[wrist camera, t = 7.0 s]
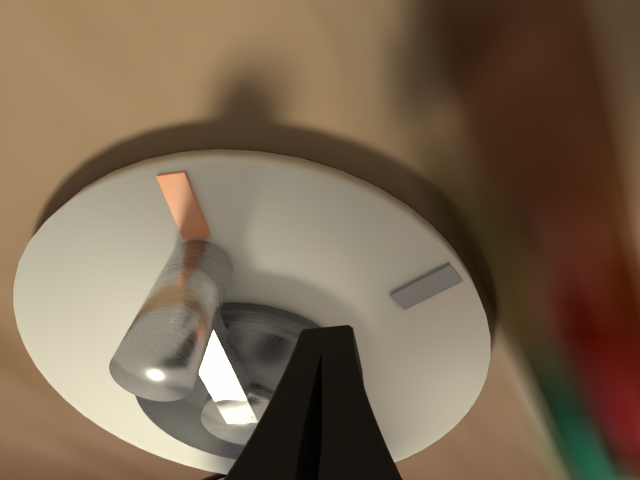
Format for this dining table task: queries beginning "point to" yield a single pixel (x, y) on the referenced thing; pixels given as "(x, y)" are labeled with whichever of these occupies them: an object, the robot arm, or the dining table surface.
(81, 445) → the dining table surface
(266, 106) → the dining table surface
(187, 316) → the dial
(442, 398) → the dial plate
